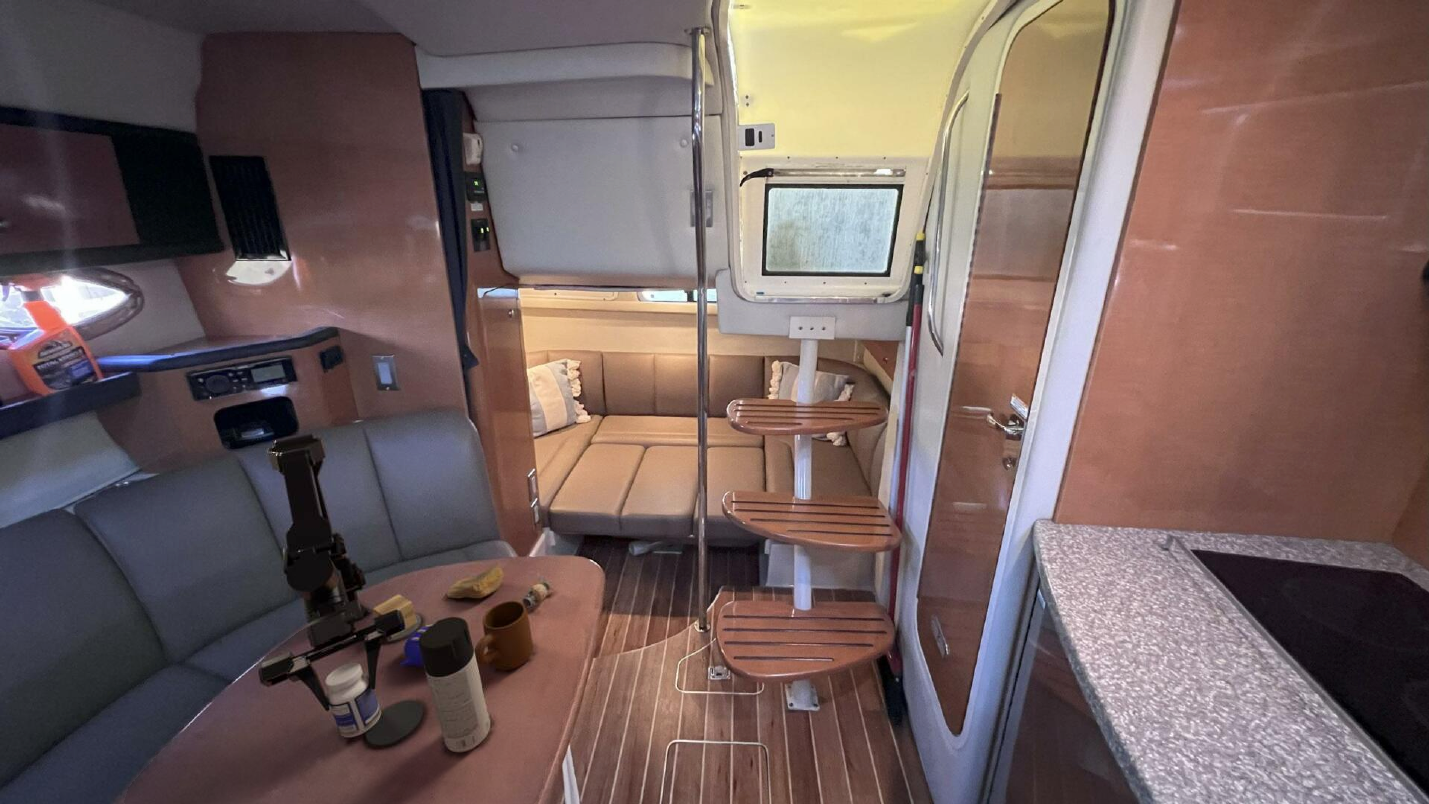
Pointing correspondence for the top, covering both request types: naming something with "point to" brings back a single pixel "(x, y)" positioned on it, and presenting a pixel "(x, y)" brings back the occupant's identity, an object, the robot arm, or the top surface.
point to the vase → (537, 593)
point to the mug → (505, 636)
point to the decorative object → (414, 649)
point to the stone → (478, 584)
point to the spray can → (455, 683)
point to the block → (401, 605)
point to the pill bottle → (352, 700)
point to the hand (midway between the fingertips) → (351, 699)
